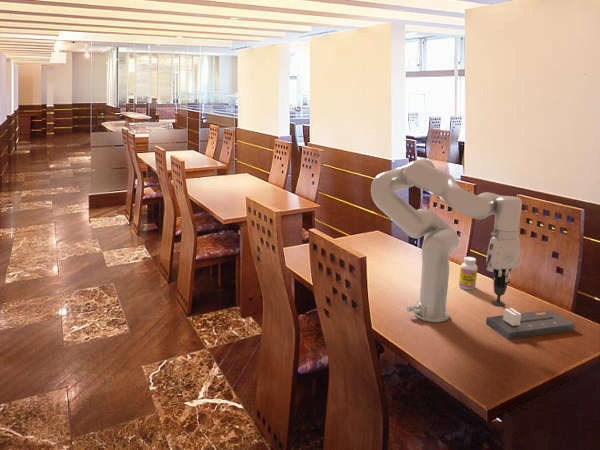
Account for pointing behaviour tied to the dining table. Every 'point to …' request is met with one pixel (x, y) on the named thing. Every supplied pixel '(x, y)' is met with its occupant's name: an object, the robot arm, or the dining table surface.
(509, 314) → the fader
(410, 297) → the dining table surface
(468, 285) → the supplement bottle
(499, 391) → the dining table surface
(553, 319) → the dimmer panel
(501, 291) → the sundae
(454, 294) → the dining table surface
